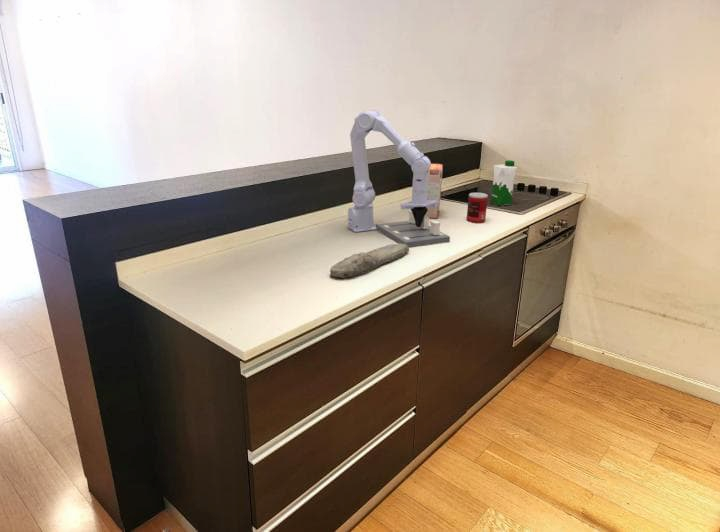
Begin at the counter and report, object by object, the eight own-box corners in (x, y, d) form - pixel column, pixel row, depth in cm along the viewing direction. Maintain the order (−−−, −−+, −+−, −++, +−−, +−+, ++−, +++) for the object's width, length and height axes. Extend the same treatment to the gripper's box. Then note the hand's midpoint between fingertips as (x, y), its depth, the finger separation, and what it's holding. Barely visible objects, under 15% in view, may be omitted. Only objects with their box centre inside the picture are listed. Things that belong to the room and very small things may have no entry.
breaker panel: (405, 247, 172) (405, 242, 171) (376, 229, 192) (376, 224, 192) (449, 241, 179) (449, 236, 178) (416, 224, 199) (416, 219, 198)
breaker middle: (423, 229, 185) (424, 217, 183) (419, 226, 188) (419, 215, 186) (428, 228, 186) (429, 217, 184) (424, 226, 188) (425, 215, 187)
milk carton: (514, 205, 230) (520, 162, 223) (497, 207, 227) (502, 163, 220) (504, 201, 238) (509, 159, 230) (487, 202, 235) (491, 160, 228)
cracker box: (438, 219, 207) (441, 169, 199) (423, 218, 208) (426, 168, 201) (440, 211, 220) (443, 163, 212) (426, 210, 221) (429, 163, 213)
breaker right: (434, 235, 178) (435, 223, 176) (429, 232, 181) (430, 221, 179) (439, 234, 179) (440, 222, 177) (434, 232, 182) (435, 220, 180)
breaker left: (412, 223, 192) (413, 212, 190) (408, 221, 194) (409, 210, 193) (417, 223, 192) (418, 212, 191) (413, 221, 195) (414, 210, 194)
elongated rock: (416, 258, 167) (393, 252, 173) (417, 242, 166) (393, 238, 172) (346, 282, 142) (322, 275, 148) (346, 264, 140) (321, 258, 147)
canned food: (483, 218, 209) (486, 192, 205) (486, 223, 202) (489, 197, 198) (465, 217, 210) (467, 192, 206) (467, 222, 202) (469, 196, 198)
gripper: (407, 194, 174) (406, 231, 179) (442, 191, 180) (440, 227, 185) (398, 190, 180) (397, 226, 185) (432, 187, 186) (430, 222, 191)
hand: (418, 226), depth 185 cm, fingers closed
